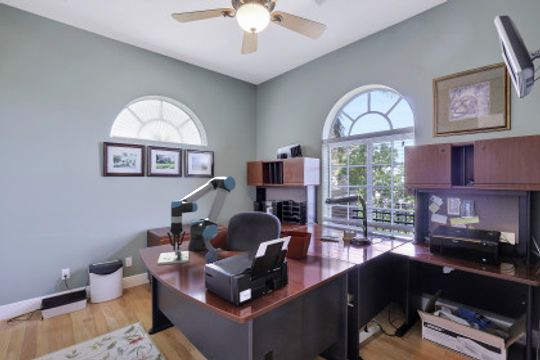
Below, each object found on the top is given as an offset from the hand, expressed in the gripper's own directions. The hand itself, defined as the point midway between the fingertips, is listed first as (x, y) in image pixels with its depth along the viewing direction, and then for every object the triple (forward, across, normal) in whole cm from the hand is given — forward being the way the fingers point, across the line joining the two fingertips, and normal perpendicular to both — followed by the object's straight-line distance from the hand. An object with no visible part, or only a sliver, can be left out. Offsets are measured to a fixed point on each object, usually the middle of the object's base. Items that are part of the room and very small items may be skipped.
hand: (176, 254), depth 182 cm
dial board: (+4, -2, +4) cm, 6 cm away
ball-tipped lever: (+2, +2, +2) cm, 3 cm away
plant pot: (+3, +86, -16) cm, 88 cm away
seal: (+4, +25, -15) cm, 29 cm away
